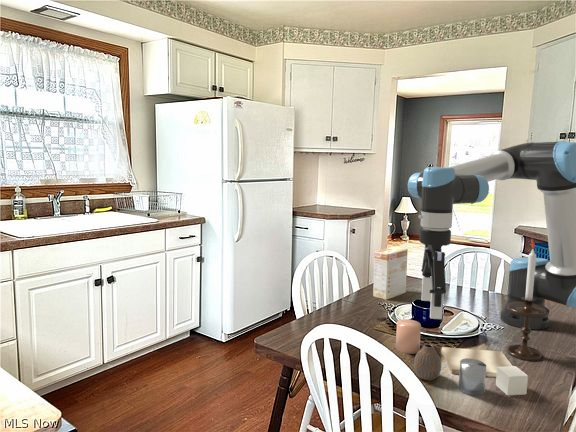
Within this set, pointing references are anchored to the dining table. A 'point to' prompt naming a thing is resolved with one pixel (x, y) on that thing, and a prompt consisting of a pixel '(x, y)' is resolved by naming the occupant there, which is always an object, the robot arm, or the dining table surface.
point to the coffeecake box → (390, 272)
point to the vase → (427, 363)
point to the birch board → (486, 356)
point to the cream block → (511, 380)
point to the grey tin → (472, 377)
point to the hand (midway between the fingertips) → (430, 309)
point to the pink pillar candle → (408, 336)
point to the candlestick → (527, 315)
